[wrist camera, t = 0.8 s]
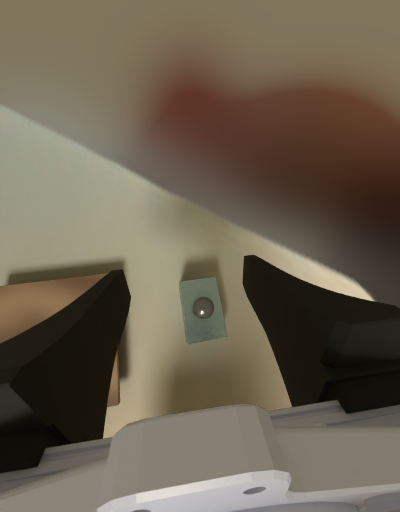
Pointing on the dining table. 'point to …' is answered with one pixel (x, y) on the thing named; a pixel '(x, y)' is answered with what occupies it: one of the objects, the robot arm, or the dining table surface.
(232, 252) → the dining table surface
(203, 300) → the block
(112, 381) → the stand
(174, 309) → the dining table surface
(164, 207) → the dining table surface
